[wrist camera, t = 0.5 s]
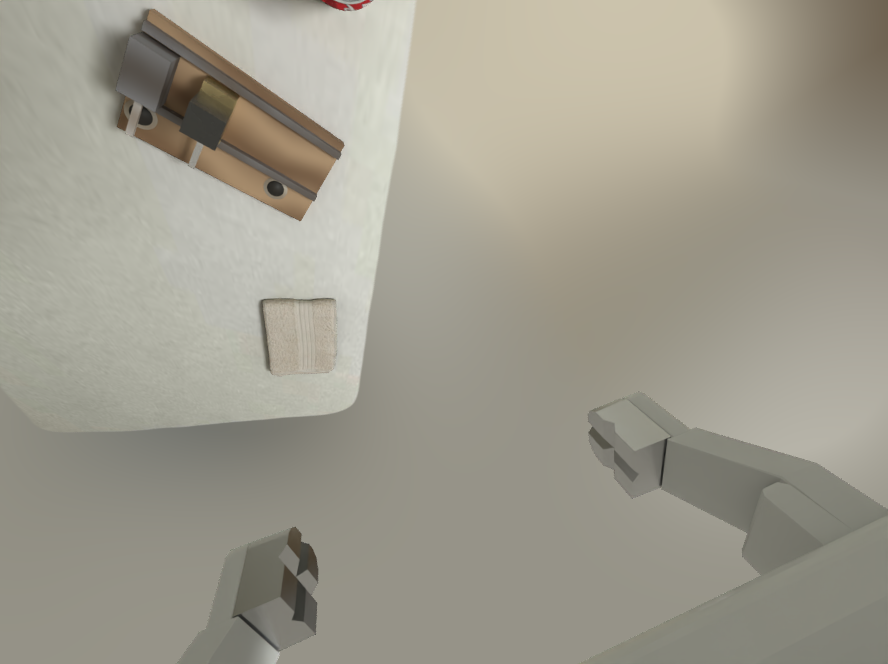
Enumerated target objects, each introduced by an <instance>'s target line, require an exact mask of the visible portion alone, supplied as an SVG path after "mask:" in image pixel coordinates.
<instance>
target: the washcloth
mask: <svg viewBox="0 0 888 664" xmlns="http://www.w3.org/2000/svg"><path fill="white" fill-rule="evenodd" d="M262 305H263V313H264V319H265V321H264V322H265V328H266V333H267V334H266V335H267V344H268V352H269V361H270V371H271V373H272V375H277V376H280V377H281V376H284V375H290V374H317V373H329V371H332V370H333V369H334V366H335V359H336V354H337V353H336V352H337V328H336V324H337V312H336V300H333V299H315V300H295V299H267V300H264V301H262Z"/></svg>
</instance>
